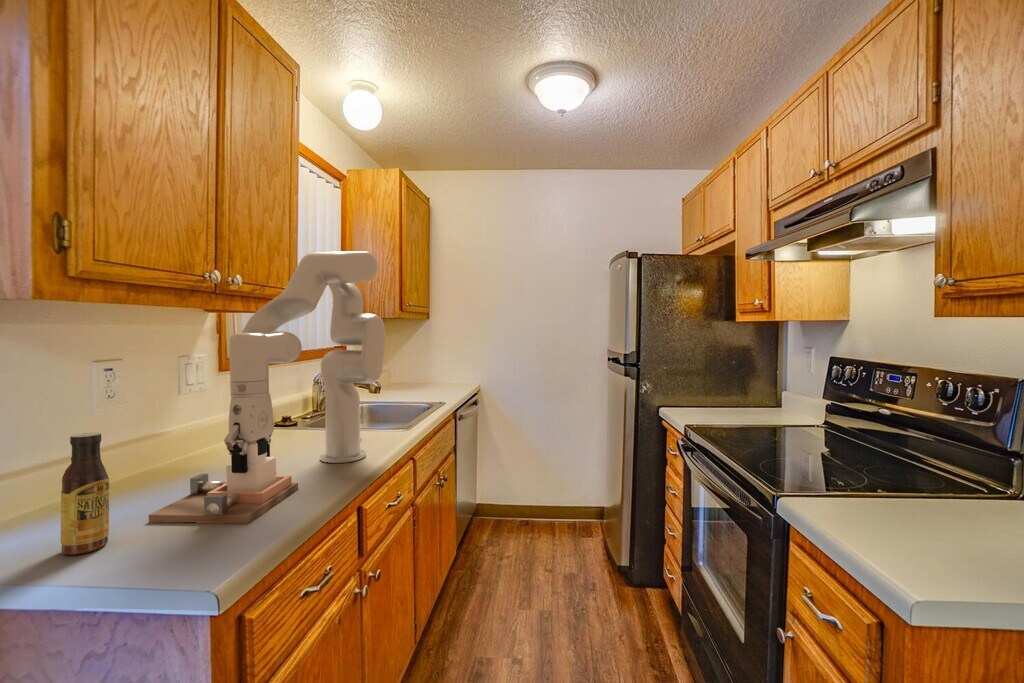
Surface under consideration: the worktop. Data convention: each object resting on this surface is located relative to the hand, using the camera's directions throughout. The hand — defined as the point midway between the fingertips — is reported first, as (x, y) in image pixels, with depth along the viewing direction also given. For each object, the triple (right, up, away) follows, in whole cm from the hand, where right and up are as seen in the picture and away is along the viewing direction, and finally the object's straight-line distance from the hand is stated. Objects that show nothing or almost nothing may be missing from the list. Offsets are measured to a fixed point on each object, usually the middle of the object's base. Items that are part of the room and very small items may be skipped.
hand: (251, 466), depth 106 cm
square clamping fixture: (-3, -7, -3) cm, 9 cm away
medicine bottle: (0, -6, 0) cm, 6 cm away
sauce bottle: (-16, -8, -23) cm, 29 cm away
